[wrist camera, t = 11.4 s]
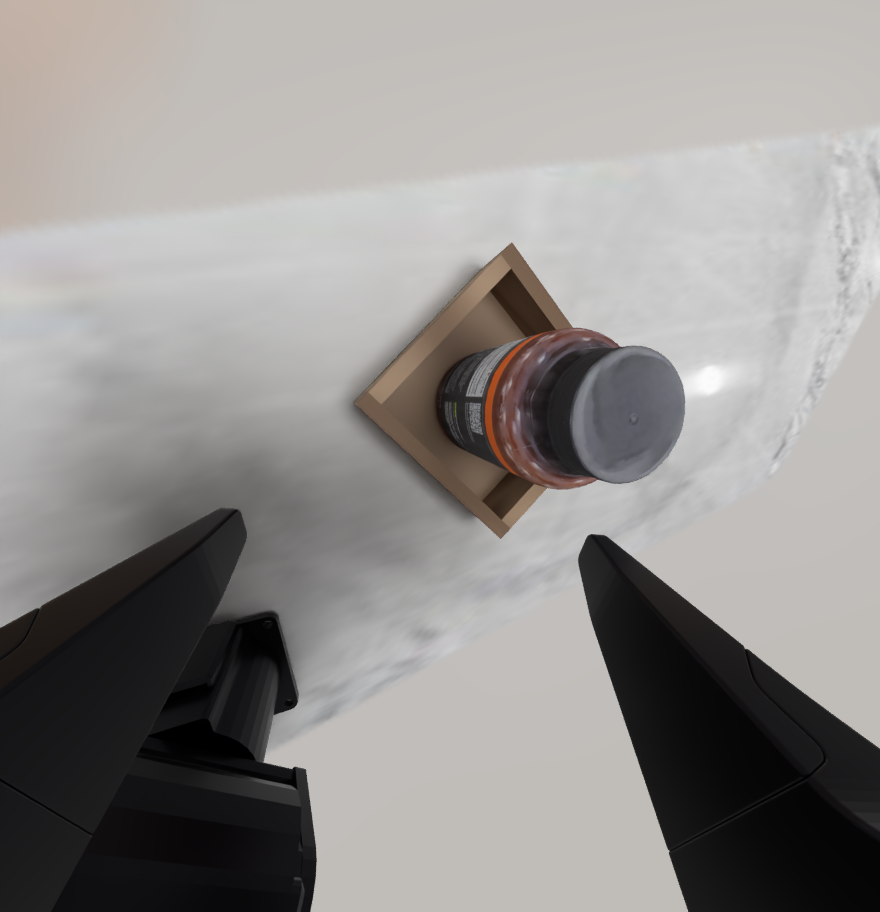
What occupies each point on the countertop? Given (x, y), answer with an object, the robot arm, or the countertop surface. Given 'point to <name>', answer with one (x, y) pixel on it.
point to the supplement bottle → (565, 408)
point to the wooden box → (433, 354)
